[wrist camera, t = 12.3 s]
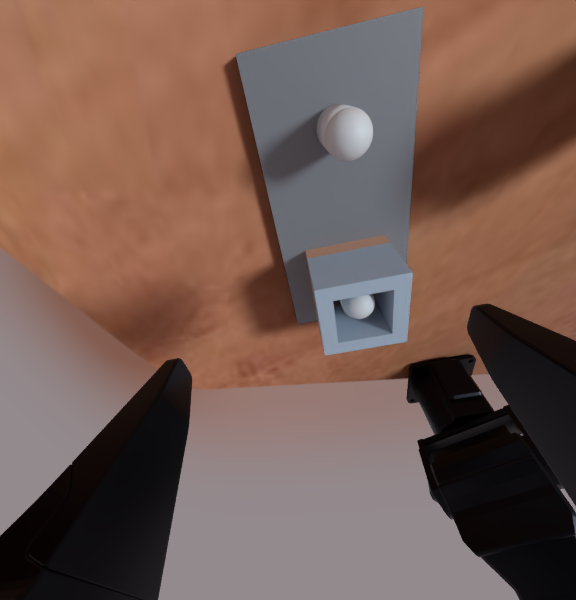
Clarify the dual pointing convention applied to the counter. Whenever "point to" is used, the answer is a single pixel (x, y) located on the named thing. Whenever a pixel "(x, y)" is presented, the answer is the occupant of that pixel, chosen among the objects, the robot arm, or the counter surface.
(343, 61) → the pin board
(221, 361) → the counter surface
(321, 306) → the sleeve
